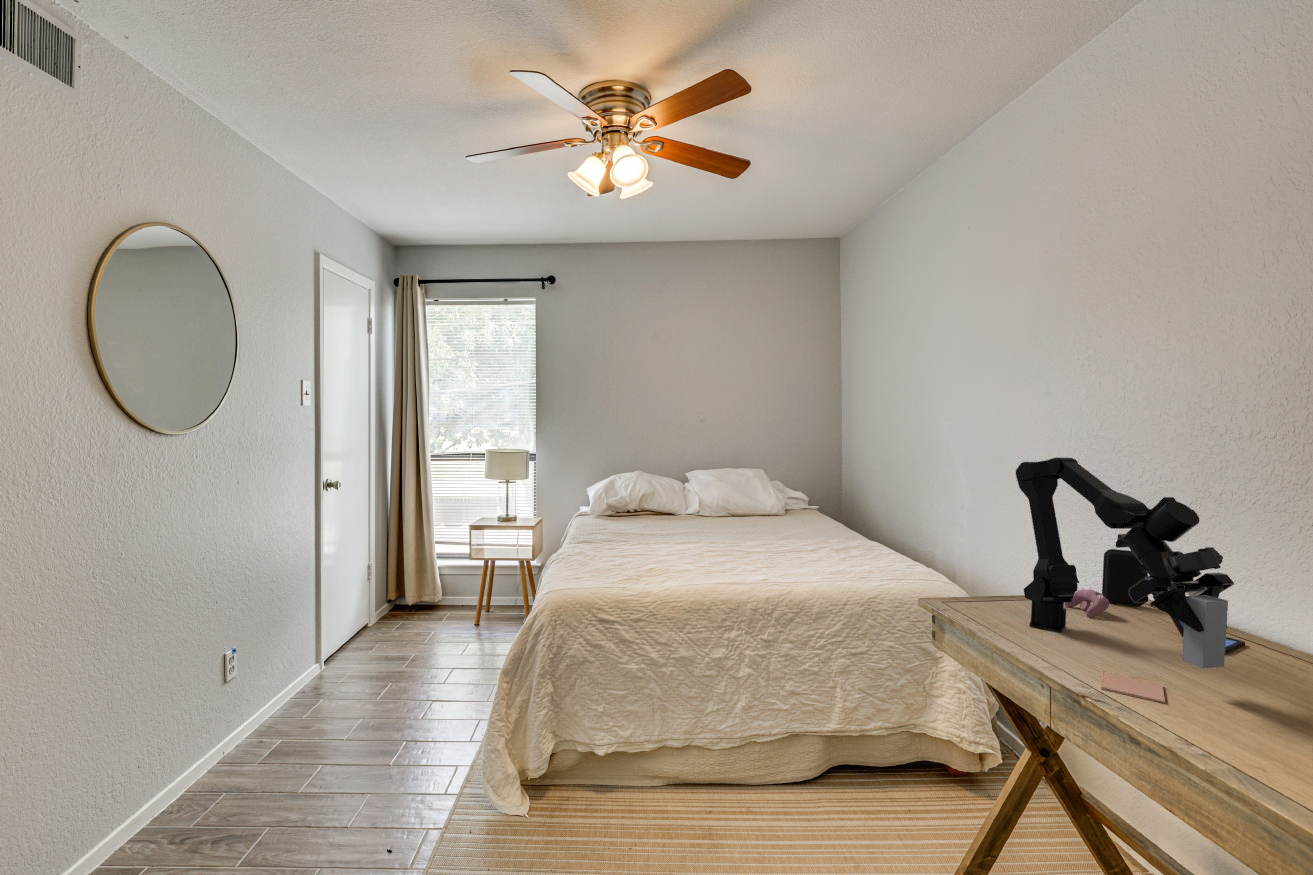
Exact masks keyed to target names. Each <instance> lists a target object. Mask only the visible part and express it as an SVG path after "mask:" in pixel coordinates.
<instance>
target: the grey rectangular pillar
mask: <svg viewBox="0 0 1313 875" xmlns="http://www.w3.org/2000/svg"><path fill="white" fill-rule="evenodd" d="M1186 601H1187V603H1188V604H1189V606H1190V607H1191V609H1192V610H1193V612H1194V613H1195V615H1196V616H1197V618H1198V619H1199V621H1200V622H1201V624H1202V626H1203V628H1204V631H1202V632H1197V631H1195V630H1194V629H1192V628H1191V627H1189V626H1187V625H1186V624H1184V634H1183V637H1182V642H1183V643H1182V654H1181V655H1182V656H1181V661H1182V662H1184V663H1187V664H1189V665H1192V666H1195V667H1197V668H1201V669H1210V668H1211V669H1212V668H1222V667H1223V668H1225V658H1226V654H1225V644H1226V637H1227V629H1228V626H1227V624H1228V606H1229V600H1227V599H1224V598H1220V597H1218V598H1216V597H1213V596H1209V595H1197V596H1189V595H1186ZM1226 628H1227V629H1226Z"/></svg>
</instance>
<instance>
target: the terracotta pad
mask: <svg viewBox="0 0 1313 875" xmlns="http://www.w3.org/2000/svg"><path fill="white" fill-rule="evenodd" d="M1101 676H1102V677H1101V690H1105V691H1108V692H1113V693H1116V694H1117V693H1118V694H1122V695H1126V696H1129V697H1130V696H1131V697H1135V698H1139V699H1143V700H1147V701H1152V702H1155V703H1161V704H1165V703H1166V699H1165V692H1164V686H1163V684H1162V683H1158V682H1154V681H1150V680H1144V679H1140V678H1135V677H1132V676H1126V675H1123V674H1122V675H1121V674H1117V673H1113V672H1109V671H1108V672H1107V671H1102V675H1101Z"/></svg>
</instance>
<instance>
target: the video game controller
mask: <svg viewBox="0 0 1313 875" xmlns="http://www.w3.org/2000/svg"><path fill="white" fill-rule="evenodd" d="M1091 603H1092V604H1091ZM1078 605H1079V608H1080V609H1081V610H1083V611H1085V615H1086V617H1087V618H1089V619H1090V618H1097V617H1098V616H1099V615H1101V614H1103V612H1105V611H1106V610H1107V609H1108V608H1109V607H1110V603H1109V601H1108V600H1107V599H1106V598H1105V597H1104V596H1103V595H1102V592H1098V591H1096V590H1093V589H1091V588H1089V589H1085V588H1081V589H1079V590H1078V589H1077V591H1076V592H1075V594H1074V596H1073V599H1072V601H1071V603H1068V602H1064V606H1065V608H1073V607H1077V606H1078Z"/></svg>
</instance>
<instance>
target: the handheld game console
mask: <svg viewBox="0 0 1313 875" xmlns="http://www.w3.org/2000/svg"><path fill="white" fill-rule="evenodd" d="M1169 617H1170V619H1171V620H1172V622H1173V624H1174V626H1175V627H1176V629H1177V631H1178V632H1179V634H1180V635H1181V637H1182V638H1183V634H1184V623H1182V622H1181V621H1179V620H1178V619H1176V618H1174V617H1173V616H1171V615H1169ZM1182 644H1183V641H1182ZM1245 646H1246V641H1243V640H1241V639H1236V638H1232V637H1228V636H1226V644H1225V655H1227V654H1230V653H1232V652H1234V651H1236V650H1239V649H1241V648H1244V647H1245Z"/></svg>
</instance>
